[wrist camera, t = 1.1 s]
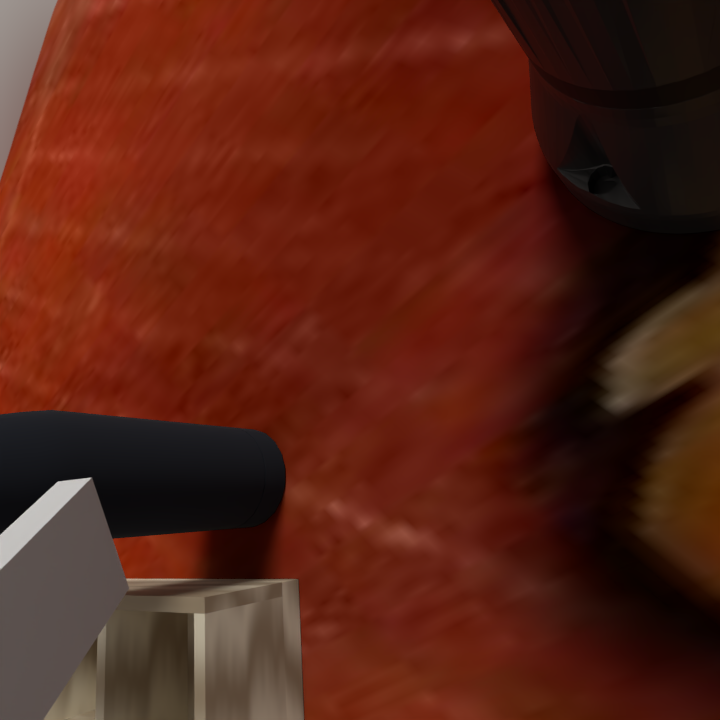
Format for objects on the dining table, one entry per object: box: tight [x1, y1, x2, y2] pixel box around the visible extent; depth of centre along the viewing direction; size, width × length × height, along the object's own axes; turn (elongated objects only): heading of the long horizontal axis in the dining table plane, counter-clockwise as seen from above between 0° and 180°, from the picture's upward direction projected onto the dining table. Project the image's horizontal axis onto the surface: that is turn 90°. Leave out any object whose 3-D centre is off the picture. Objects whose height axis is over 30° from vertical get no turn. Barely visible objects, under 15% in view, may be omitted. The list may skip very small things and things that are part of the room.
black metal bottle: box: [0, 410, 285, 538], centre depth 30 cm, size 6×6×30 cm
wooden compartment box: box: [44, 579, 304, 720], centre depth 41 cm, size 9×26×8 cm, turn 95°
